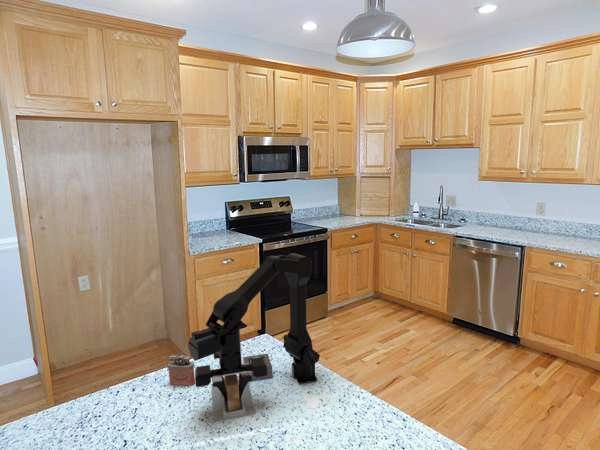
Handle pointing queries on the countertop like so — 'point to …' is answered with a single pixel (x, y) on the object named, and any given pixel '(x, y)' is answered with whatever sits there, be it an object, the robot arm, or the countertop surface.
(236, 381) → the billet
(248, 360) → the button box
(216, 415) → the grey socket board
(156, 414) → the countertop surface
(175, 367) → the lighter
